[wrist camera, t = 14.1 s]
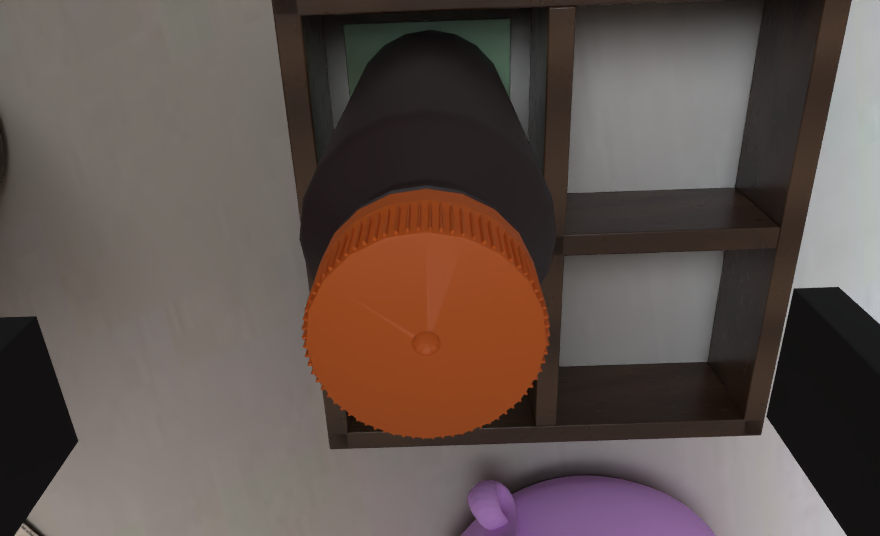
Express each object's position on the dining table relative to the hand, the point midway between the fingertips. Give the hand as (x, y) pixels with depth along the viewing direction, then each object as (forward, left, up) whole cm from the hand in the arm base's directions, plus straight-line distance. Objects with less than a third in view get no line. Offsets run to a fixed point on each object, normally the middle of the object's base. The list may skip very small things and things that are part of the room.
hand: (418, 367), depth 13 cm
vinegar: (0, 0, -21) cm, 21 cm away
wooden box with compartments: (+5, +5, -22) cm, 23 cm away
